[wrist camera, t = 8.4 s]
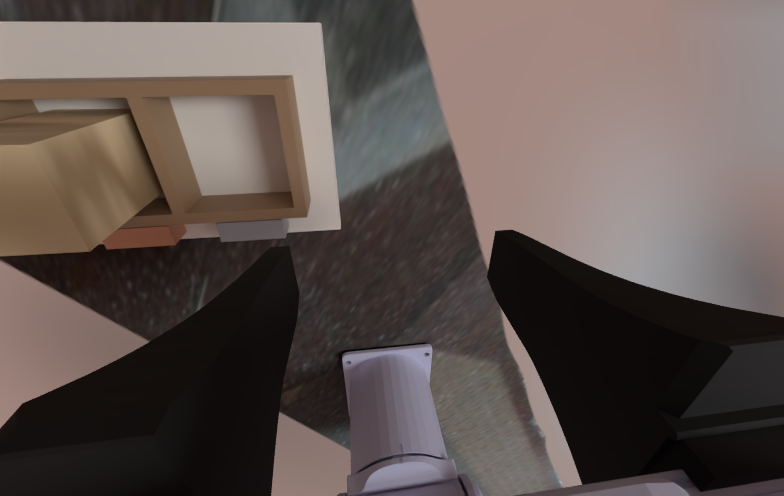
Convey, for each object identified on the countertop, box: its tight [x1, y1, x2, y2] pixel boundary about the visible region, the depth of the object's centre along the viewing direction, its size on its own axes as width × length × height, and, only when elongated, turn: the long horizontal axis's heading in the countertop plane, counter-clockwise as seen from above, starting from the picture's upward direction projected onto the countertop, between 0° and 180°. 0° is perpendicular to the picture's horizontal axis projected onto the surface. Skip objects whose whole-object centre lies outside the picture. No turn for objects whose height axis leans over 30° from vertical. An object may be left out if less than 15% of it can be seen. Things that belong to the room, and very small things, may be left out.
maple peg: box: [0, 109, 163, 256], centre depth 14 cm, size 4×4×7 cm
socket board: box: [0, 22, 341, 249], centre depth 17 cm, size 11×16×3 cm
